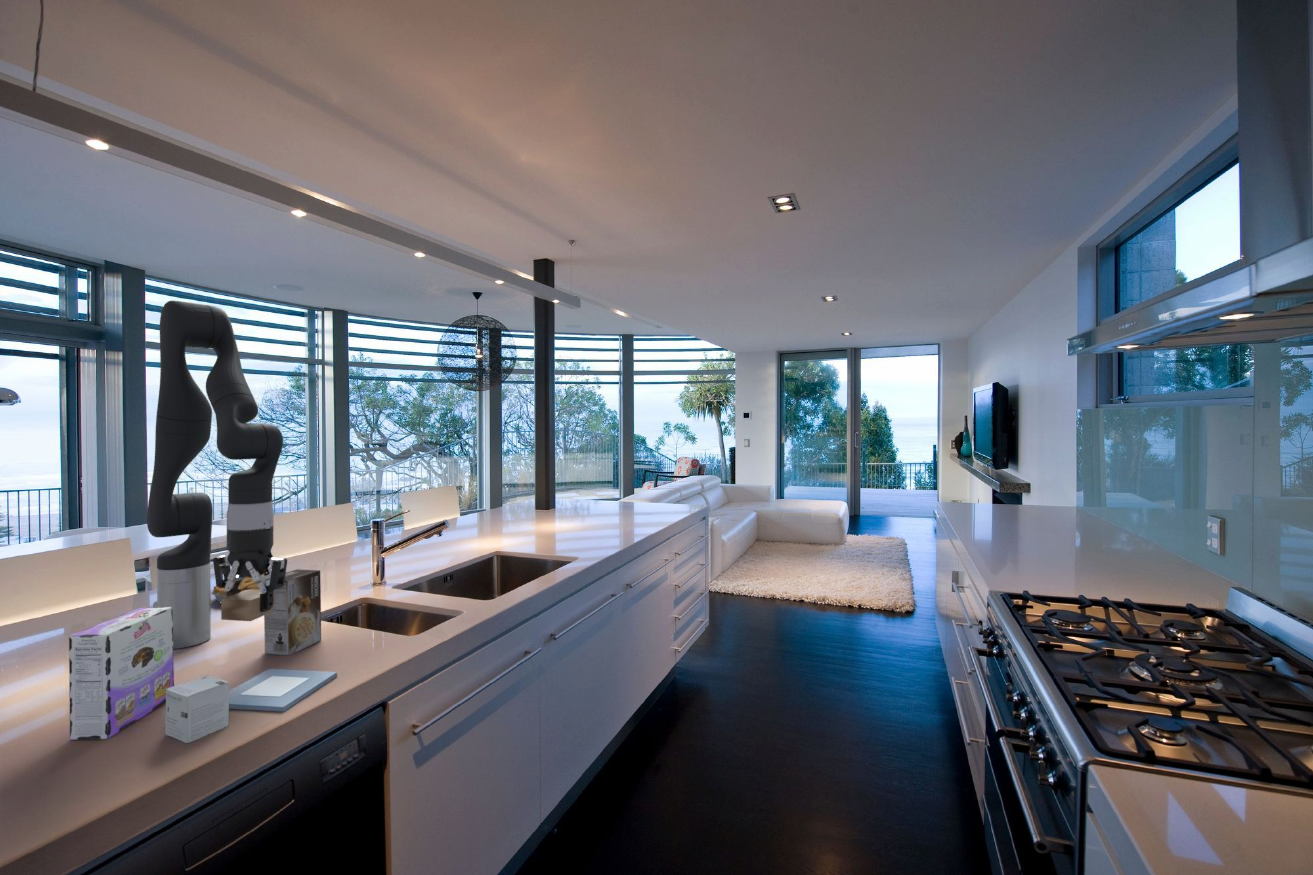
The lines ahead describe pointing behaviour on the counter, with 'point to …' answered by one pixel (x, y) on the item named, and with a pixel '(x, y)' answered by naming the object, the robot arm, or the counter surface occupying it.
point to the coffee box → (294, 614)
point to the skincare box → (197, 708)
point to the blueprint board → (277, 689)
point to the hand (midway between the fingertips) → (250, 609)
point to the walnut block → (243, 606)
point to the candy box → (119, 671)
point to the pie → (245, 585)
